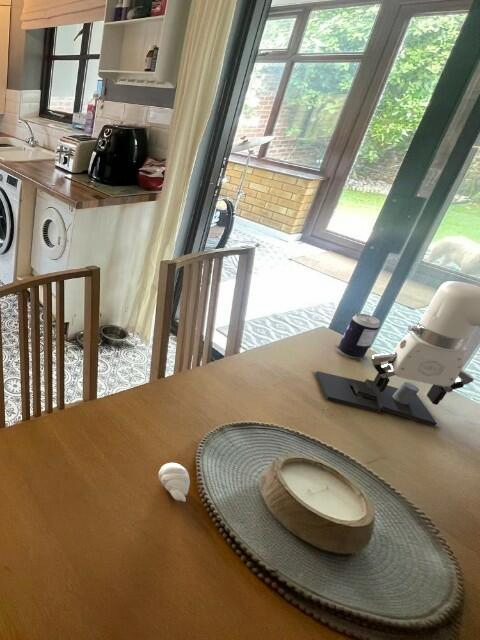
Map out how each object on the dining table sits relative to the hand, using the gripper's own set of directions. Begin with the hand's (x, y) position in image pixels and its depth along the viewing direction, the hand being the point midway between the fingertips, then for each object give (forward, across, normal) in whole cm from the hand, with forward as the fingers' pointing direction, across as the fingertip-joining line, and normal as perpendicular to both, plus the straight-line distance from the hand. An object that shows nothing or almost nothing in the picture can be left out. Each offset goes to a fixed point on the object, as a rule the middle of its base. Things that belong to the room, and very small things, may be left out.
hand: (404, 394), depth 97 cm
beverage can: (+4, -4, +19) cm, 20 cm away
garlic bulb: (+4, -49, -47) cm, 68 cm away
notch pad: (+4, -10, 0) cm, 11 cm away
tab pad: (+3, -2, 0) cm, 3 cm away
